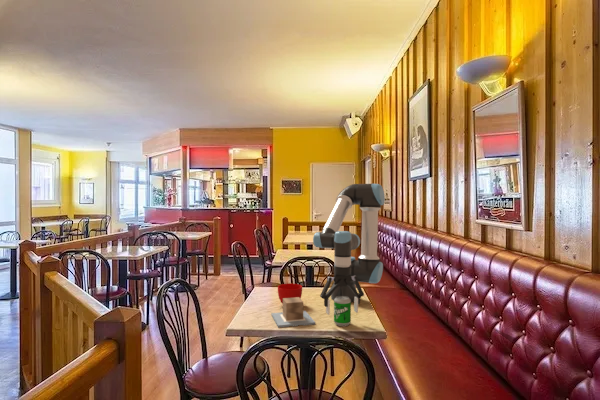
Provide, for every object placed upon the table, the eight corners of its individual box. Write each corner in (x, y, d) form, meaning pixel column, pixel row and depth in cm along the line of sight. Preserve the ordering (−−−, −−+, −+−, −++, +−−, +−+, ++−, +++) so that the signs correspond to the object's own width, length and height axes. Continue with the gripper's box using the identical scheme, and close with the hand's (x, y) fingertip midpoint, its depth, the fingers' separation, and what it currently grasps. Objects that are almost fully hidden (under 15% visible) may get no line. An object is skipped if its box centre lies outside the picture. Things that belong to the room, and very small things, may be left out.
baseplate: (305, 312, 181) (305, 310, 181) (315, 324, 165) (315, 321, 165) (271, 315, 177) (271, 312, 177) (278, 327, 160) (278, 325, 160)
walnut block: (298, 313, 176) (299, 297, 176) (303, 319, 168) (303, 301, 168) (282, 315, 174) (282, 298, 174) (286, 320, 166) (286, 303, 166)
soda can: (339, 320, 171) (339, 294, 170) (353, 323, 166) (353, 297, 166) (330, 324, 165) (330, 297, 165) (344, 328, 160) (345, 301, 160)
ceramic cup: (303, 299, 203) (303, 282, 203) (300, 309, 186) (301, 289, 186) (280, 299, 204) (280, 281, 204) (275, 308, 187) (275, 289, 187)
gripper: (364, 263, 172) (364, 308, 172) (313, 265, 165) (313, 312, 165) (371, 266, 164) (371, 313, 164) (318, 268, 158) (318, 317, 158)
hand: (342, 312), depth 165 cm, fingers open, 13 cm apart
